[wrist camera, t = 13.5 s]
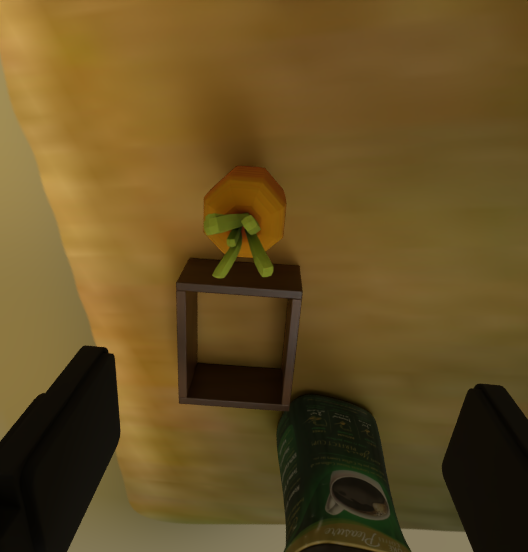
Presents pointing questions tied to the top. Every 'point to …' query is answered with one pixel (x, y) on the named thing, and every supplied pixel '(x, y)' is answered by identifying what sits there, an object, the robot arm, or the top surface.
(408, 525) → the top surface
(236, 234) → the carrot
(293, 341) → the pen box
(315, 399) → the coffee jar
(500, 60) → the top surface
